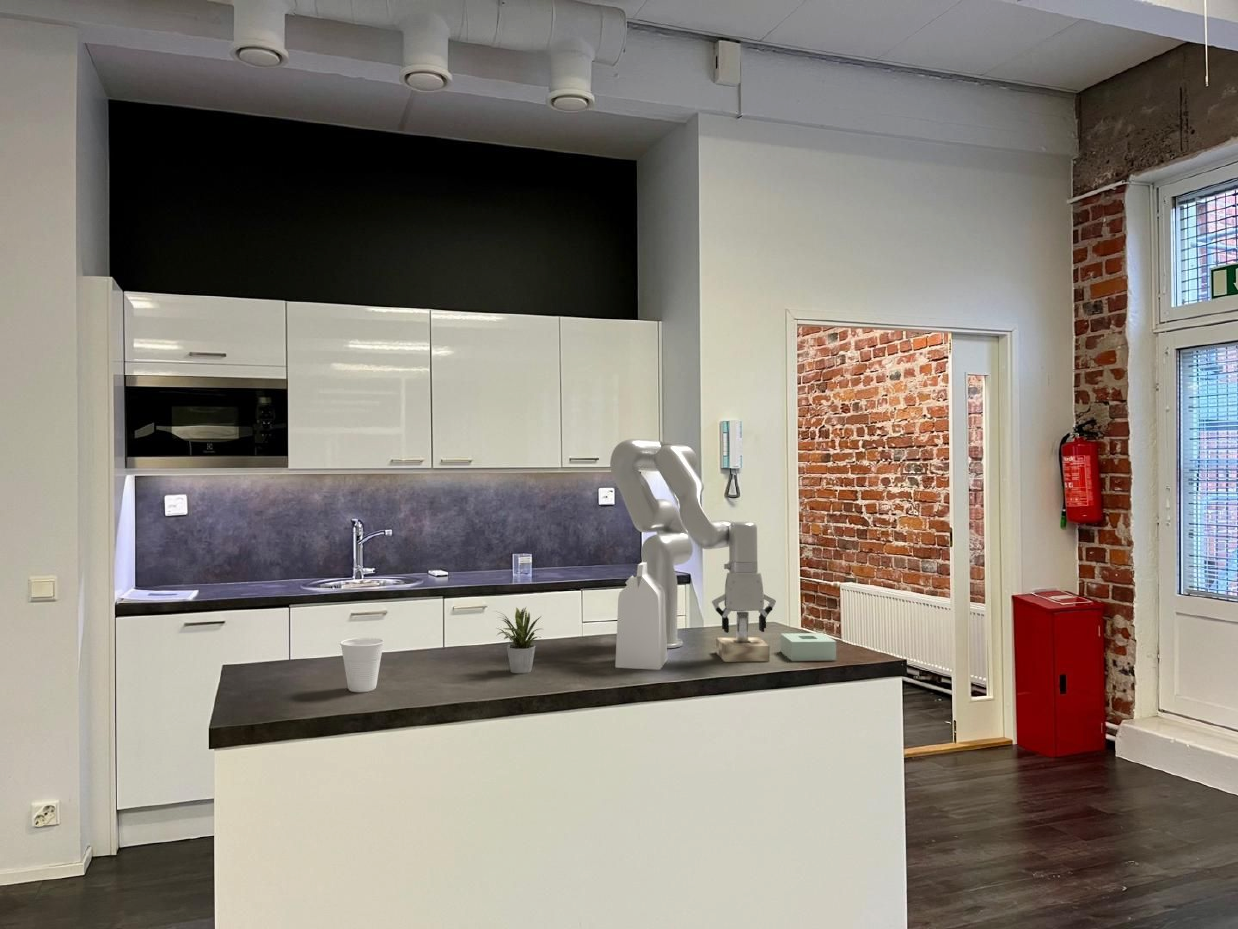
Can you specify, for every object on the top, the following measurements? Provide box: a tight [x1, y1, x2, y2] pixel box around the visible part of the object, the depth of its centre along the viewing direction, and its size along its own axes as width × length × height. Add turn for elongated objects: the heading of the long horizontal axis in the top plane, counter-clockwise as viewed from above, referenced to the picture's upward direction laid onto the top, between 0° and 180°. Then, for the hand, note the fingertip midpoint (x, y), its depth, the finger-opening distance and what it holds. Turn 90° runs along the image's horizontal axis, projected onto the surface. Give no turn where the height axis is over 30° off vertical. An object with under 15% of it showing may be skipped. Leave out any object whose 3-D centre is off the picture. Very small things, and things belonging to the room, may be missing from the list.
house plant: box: [494, 607, 544, 674], centre depth 241 cm, size 14×14×16 cm
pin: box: [735, 611, 750, 643], centre depth 259 cm, size 3×3×12 cm
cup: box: [339, 637, 386, 693], centre depth 220 cm, size 10×10×11 cm
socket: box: [779, 632, 837, 662], centre depth 260 cm, size 12×12×5 cm
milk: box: [614, 561, 668, 671], centre depth 249 cm, size 12×12×26 cm
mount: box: [715, 636, 771, 663], centre depth 259 cm, size 12×12×4 cm
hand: (744, 631), depth 258 cm, fingers open, 9 cm apart
